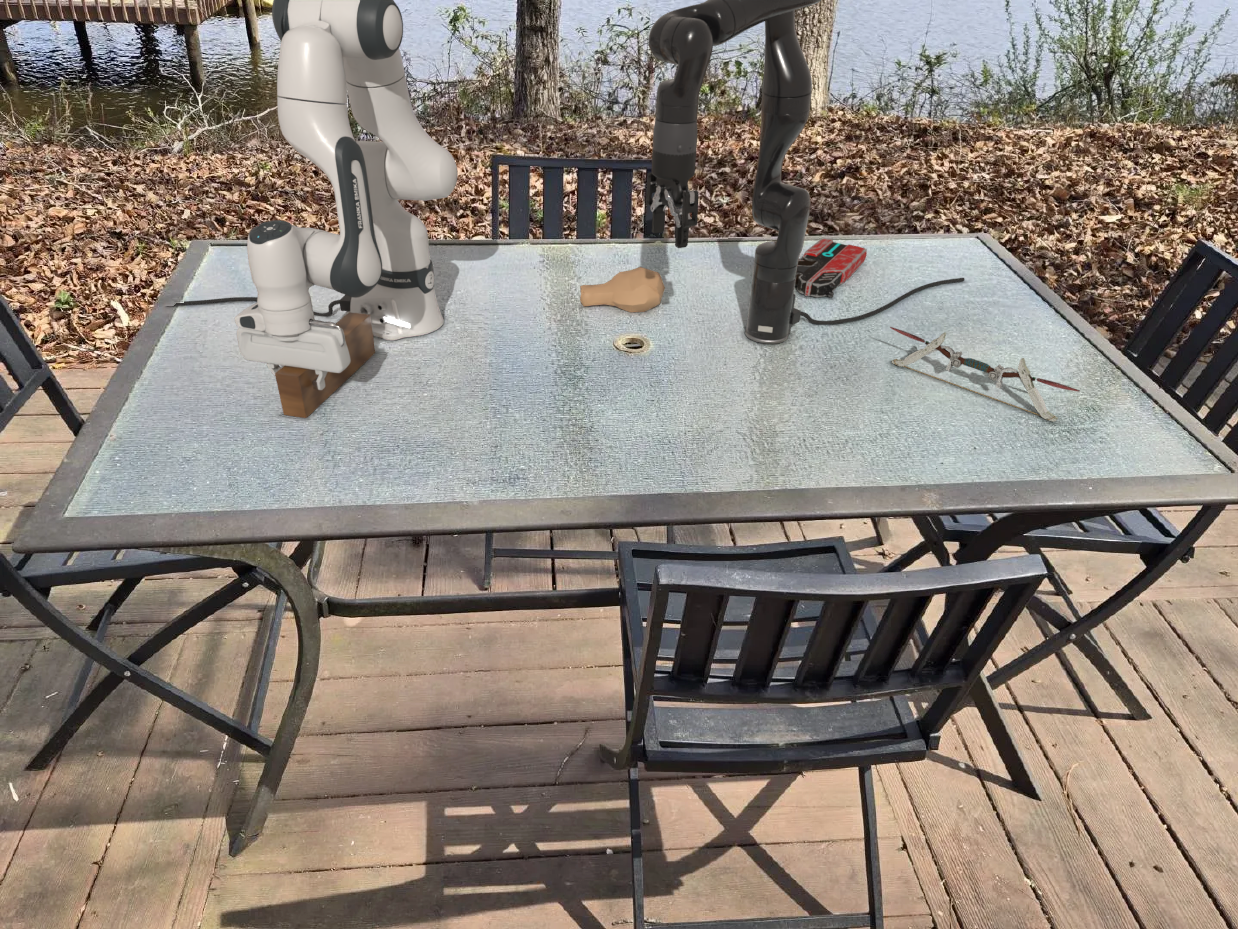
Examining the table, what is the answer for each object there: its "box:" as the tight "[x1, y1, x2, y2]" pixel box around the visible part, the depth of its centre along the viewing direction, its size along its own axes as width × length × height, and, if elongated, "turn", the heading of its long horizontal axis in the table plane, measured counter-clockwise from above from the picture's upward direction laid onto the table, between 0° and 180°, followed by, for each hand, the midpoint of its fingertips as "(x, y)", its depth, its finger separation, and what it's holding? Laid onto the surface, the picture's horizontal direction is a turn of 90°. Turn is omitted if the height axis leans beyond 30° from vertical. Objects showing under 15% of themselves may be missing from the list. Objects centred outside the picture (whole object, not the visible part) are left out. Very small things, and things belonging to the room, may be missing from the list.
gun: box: [795, 237, 868, 299], centre depth 225 cm, size 4×31×19 cm
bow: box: [889, 326, 1081, 422], centre depth 173 cm, size 39×2×10 cm, turn 47°
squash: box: [579, 266, 666, 313], centre depth 204 cm, size 11×20×9 cm, turn 90°
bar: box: [274, 312, 377, 419], centre depth 170 cm, size 28×5×9 cm, turn 166°
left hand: (301, 385), depth 162 cm, fingers open, 6 cm apart
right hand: (669, 239), depth 158 cm, fingers open, 8 cm apart
